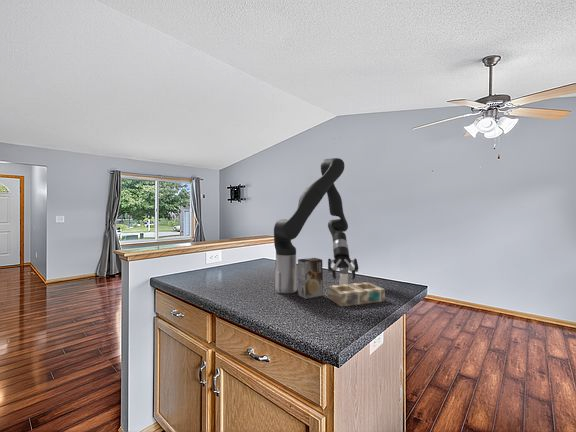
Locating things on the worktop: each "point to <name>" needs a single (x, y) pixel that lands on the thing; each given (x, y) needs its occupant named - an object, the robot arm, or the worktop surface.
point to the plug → (343, 276)
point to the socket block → (356, 294)
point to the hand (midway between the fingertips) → (344, 278)
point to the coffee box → (310, 277)
